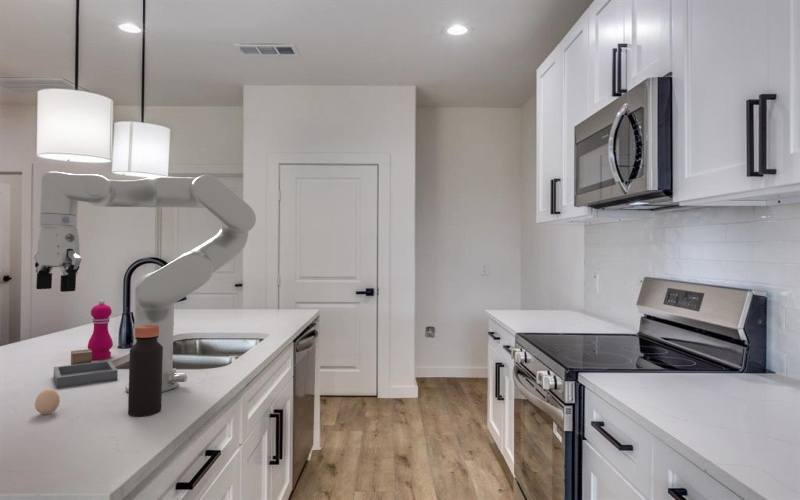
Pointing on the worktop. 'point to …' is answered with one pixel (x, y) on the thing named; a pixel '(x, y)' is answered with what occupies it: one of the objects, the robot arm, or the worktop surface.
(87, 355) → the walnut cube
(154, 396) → the bottle
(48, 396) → the egg
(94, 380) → the dish
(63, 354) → the worktop surface
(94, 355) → the pepper mill
